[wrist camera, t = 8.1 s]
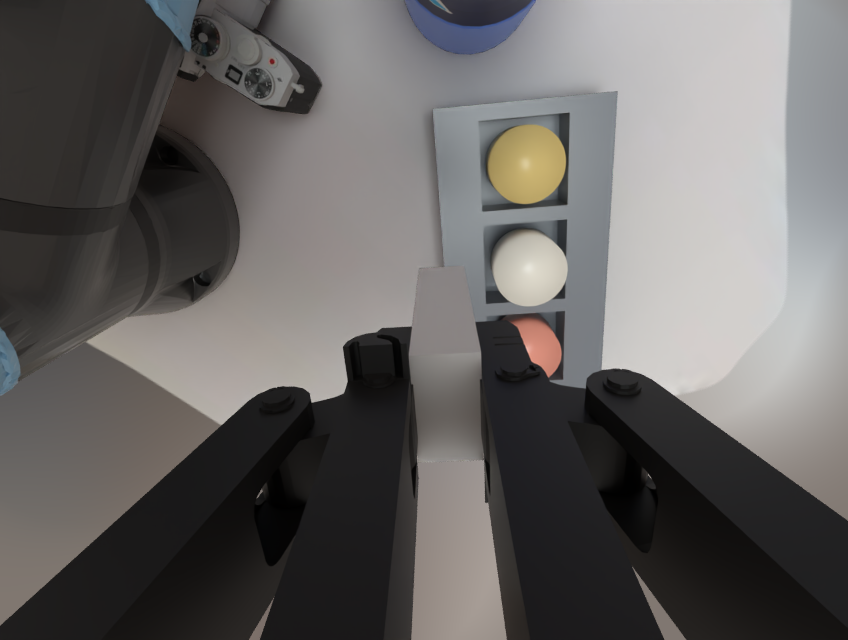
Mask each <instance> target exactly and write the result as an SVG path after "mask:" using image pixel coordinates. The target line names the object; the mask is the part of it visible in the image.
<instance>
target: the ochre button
mask: <svg viewBox="0 0 848 640" xmlns="http://www.w3.org/2000/svg"><path fill="white" fill-rule="evenodd" d="M565 168H566V155H565V150H564V147H563V145H562V143H561V141H560V140H559V138H558V137H557V136H556V135H555V134H554V133H553V132H552V131H550V130H549V129H547V128H545V127H543V126H539V125H533V124H532V125H519V126H514V127H511V128H508V129H506V130H505V131H503V132H502V133H500V134H499V135H498V136H497V137H496V138H495V139H494V141H493V142H492V143H491V145H490V147H489V149H488V152H487V156H486V173H487V176H488V179H489V181H490V183H491V184H492V185H493V187H494V188H495V189H496V190H497V191H498V192H499V193H500V194H501V195H502V196H503V197H504V198H506V199H508V200H509V201H512V202H514V203H519V204H531V203H535V202H538V201H541V200H543V199H544V198H546V197H548V196H549V195H550V194H551V193H552V192H553V191H554V190H555V189H556V188H557V187H558V185H559V184H560V182H561V180H562V178H563V175H564V172H565Z"/></svg>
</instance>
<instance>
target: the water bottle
mask: <svg viewBox="0 0 848 640" xmlns="http://www.w3.org/2000/svg"><path fill="white" fill-rule="evenodd" d="M535 1H536V0H405V2H406V5H407V8H408V11H409V14H410V16H411V18H412V20H413V21H414V23H415V25H416V27H417V28H418V29H419V30H420V32H421V33H422V34H423V35H424V36H425V37H426V38H427V39H428V40H429V41H431V42H432V43H433V44H434V45H436V46H438V47H440V48H442V49H444V50H445V51H449V52H453V53H456V54H475V53H480V52H484V51H486V50H489V49H491V48H493V47H496V46H497V45H498V44H500V43H501V42H503V41H504V40H506V39H507V38H508V37H509V36H510V35H511V34H512V33H513V32H514V31H515V30H516V28H517V27H518V26H519V24H520V23H521V21H522V20H523V19H524V17H525V16H526V14H527V13H528V12H529V10H530V9H531V7H532V6H533V4H534V3H535Z"/></svg>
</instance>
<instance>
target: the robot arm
mask: <svg viewBox="0 0 848 640" xmlns="http://www.w3.org/2000/svg"><path fill="white" fill-rule="evenodd" d="M198 3H199V0H0V395H3V394H4V393H6V392H7V391H9V390H11V389H13V388H14V387H13V386H14V385H16V384H17V382H18V381H20V380H22V379H23V378H25V377H27V376H28V375H30V374H31V373H33V372H35V371H37V370H38V369H40V368H42V367H44V366H45V365H47V364H48V363H50V362H52V361H54V360H55V359H57V358H58V357H60V356H62V355H64V354H65V353H67V352H69V351H71V350H72V349H74V348H76V347H77V346H79V345H80V344H82V343H84V342H86V341H87V340H89V339H91V338H93V337H94V336H96V335H98V334H99V333H101V332H103V331H104V330H106V329H108V328H109V327H111V326H113V325H114V324H116V323H118V322H120V321H121V320H123V319H124V318H126V317H131V316H141V315H152V314H162V313H169V312H173V311H177V310H180V309H183V308H186V307H188V306H190V305H192V304H194V303H196V302H198V301H199V300H200V299H202V298H203V297H205V296H206V295H208V294H209V293H211V292H212V291H213V290H215V289H216V288H217V287H218V286H219V285H220V284H221V283H222V282H223V280H224V279H225V278H226V276H227V275H228V273H229V272H230V270H231V268H232V266H233V264H234V261H235V258H236V254H237V250H238V245H239V222H238V215H237V211H236V207H235V203H234V201H233V198H232V195H231V193H230V190H229V188H228V186H227V184H226V182H225V181H224V179H223V177H222V176H221V174H220V173H219V171H218V170H217V168H216V167H215V166H214V164H213V163H212V162H211V161H210V160H209V159H208V157H207V156H206V155H205V154H204V153H203V152H202V151H200V150H199V149H198V148H197V147H196V146H195V145H194V144H192V143H191V142H190V141H188V140H187V139H185V138H184V137H182V136H181V135H179V134H177V133H176V132H174V131H172V130H170V129H168V128H165V127H163V126H160V125H159V122H160V120H161V117H162V114H163V111H164V109H165V106H166V103H167V100H168V98H169V95H170V92H171V89H172V86H173V84H174V81H175V78H176V75H177V73H178V70H179V67H180V64H181V62H182V59H183V56H184V53H185V51H186V52H189V51H190V49H191V43H192V42H191V38H190V32H191V28H192V24H193V20H194V16H195V13H196V9H197V6H198ZM343 351H344V358H345V365H346V371H347V378H348V383H347V386H346V389H345V392H344V394H342V395H340V396H337V397H334V398H331V399H327V400H323V401H318V402H314V403H311V398H310V394H309V392H307V391H306V390H305V389H303V388H298V387H285V386H282V387H277V388H276V387H275V388H272V389H269V390H267V391H265V392H263V393H260V394H258V395H256V396H255V397H254V398H252V399H251V400H249V401H248V402H247V403H246V404H245V405H244V406H242V407H241V408H240V409H239V410H238V411H237V412H236V413H235V414H234V415H232V416H231V417H230V418H229V419H228V420H227V421H226V422H225V423H224V424H223V425H221V426H220V427H219V428H218V429H217V430H216V431H215V432H214V433H213V434H212V435H210V436H209V437H208V438H207V439H206V440H205V441H204V442H203V443H202V444H200V445H199V446H198V447H197V448H196V449H195V450H194V451H193V452H192V453H191V454H189V455H188V456H187V457H186V458H185V459H184V460H183V461H182V462H181V463H179V464H178V465H177V466H176V467H175V468H174V469H173V470H172V471H171V472H170V473H169V474H167V475H166V476H165V477H164V478H163V479H162V480H161V481H160V482H159V483H157V484H156V485H155V486H154V487H153V488H152V489H151V490H150V491H149V492H147V494H145V495H144V496H143V497H142V498H141V499H140V500H139V501H137V503H135V504H134V505H133V506H132V507H131V508H130V509H129V510H128V511H127V512H125V513H124V514H123V515H122V516H121V517H120V518H119V519H118V520H117V521H115V522H114V523H113V524H112V525H111V526H110V527H109V528H108V529H107V530H105V531H104V532H103V533H102V534H101V535H100V536H99V537H98V538H97V539H96V540H94V542H92V543H91V544H90V545H89V546H88V547H87V548H86V549H85V550H83V551H82V552H81V553H80V554H79V555H78V556H77V557H76V558H75V559H73V560H72V561H71V562H70V563H69V564H68V565H67V566H66V567H65V568H63V569H62V570H61V571H60V572H59V573H58V574H57V575H56V576H55V577H54V578H52V579H51V580H50V581H49V582H48V583H47V584H46V585H45V586H44V587H43V588H42V589H40V590H39V591H38V592H37V593H36V594H35V595H34V596H33V597H32V598H30V599H29V600H28V601H27V602H26V603H25V604H24V605H23V606H22V607H20V608H19V609H18V610H17V611H16V612H15V613H14V614H13V615H12V616H11V617H9V618H8V619H7V620H6V621H5V622H4V623H3V624H2V625H1V626H0V640H249V638H250V636H251V635H252V633H253V631H254V630H255V628H256V626H257V625H258V623H259V621H260V620H261V618H262V616H263V615H264V613H265V611H266V610H267V608H268V606H269V605H270V603H271V601H272V600H273V598H274V600H273V603H272V606H271V609H270V612H269V615H268V617H267V621H266V623H265V626H264V629H263V632H262V635H261V638H260V640H411V632H412V631H411V630H412V610H413V588H414V565H415V542H416V522H417V500H418V479H419V478H418V466H417V456H418V462H419V463H420V462H446V461H471V460H484V471H485V502H486V503H488V504H489V511H490V518H491V526H492V533H493V540H494V548H495V555H496V563H497V570H498V577H499V584H500V591H501V599H502V606H503V614H504V621H505V629H506V636H507V640H664V638H663V636H662V633H661V631H660V629H659V627H658V625H657V622H656V620H655V618H654V615H653V613H652V611H651V609H650V606H649V604H648V602H647V600H646V597H645V595H644V593H643V591H642V588H641V586H640V584H639V581H638V579H637V577H636V575H635V572H634V570H633V568H634V569H635V571H636V572H637V573H638V575H639V576H640V577H641V579H642V580H643V581H644V583H645V584H646V585H647V587H648V588H649V590H650V591H651V592H652V594H653V595H654V596H655V598H656V599H657V600H658V602H659V603H660V604H661V606H662V607H663V608H664V610H665V611H666V613H667V614H668V615H669V617H670V618H671V619H672V621H673V622H674V623H675V624H676V626H677V627H678V629H679V630H680V631H681V633H682V634H683V636H684V637H685V638H686V640H848V521H847V520H846V519H845V518H843V517H842V516H840V515H839V514H838V513H836V512H835V511H834V510H832V509H831V508H829V507H828V506H827V505H825V504H824V503H822V502H821V501H820V500H818V499H817V498H815V497H814V496H813V495H811V494H810V493H809V492H807V491H806V490H804V489H803V488H802V487H800V486H799V485H797V484H796V483H795V482H793V481H792V480H790V479H789V478H788V477H786V476H785V475H784V474H782V473H781V472H779V471H778V470H777V469H775V468H774V467H772V466H771V465H770V464H768V463H767V462H766V461H764V460H763V459H761V458H760V457H759V456H757V455H756V454H754V453H753V452H751V451H750V450H749V449H747V448H746V447H745V446H743V445H742V444H741V443H739V442H738V441H736V440H735V439H734V438H732V437H731V436H729V435H728V434H727V433H725V432H724V431H722V430H721V429H720V428H718V427H717V426H715V425H714V424H713V423H711V422H710V421H708V420H707V419H706V418H704V417H703V416H701V415H700V414H699V413H697V412H696V411H695V410H693V409H692V408H691V407H689V406H688V405H686V404H685V403H683V402H682V401H681V400H679V399H678V398H677V397H675V396H674V395H672V394H671V393H670V392H668V391H667V390H666V389H664V388H663V387H661V386H660V385H659V384H657V383H656V382H654V381H653V380H652V379H650V378H648V377H646V376H644V375H642V374H639V373H635V372H632V371H630V370H626V369H622V370H621V369H609V370H601V371H598V372H595V373H592V374H591V375H590V376H589V377H588V378H587V381H586V388H578V387H570V386H564V385H559V384H556V383H553V382H550V381H549V378H548V376H547V374H546V372H545V371H544V369H543V368H542V367H541V366H539V365H537V364H535V363H533V362H532V361H531V359H530V357H529V354H528V352H527V349H526V347H525V344H524V342H523V339H522V337H521V335H520V332H519V330H518V327H517V326H515V325H514V324H512V323H510V322H509V321H507V320H501V321H483V322H475V319H474V314H473V309H472V304H471V299H470V294H469V289H468V285H467V280H466V275H465V270H464V266H450V267H433V268H419V273H418V282H417V290H416V298H415V307H414V315H413V323H412V327H396V328H382V329H380V330H379V331H378V332H376V333H368V334H364V335H361V336H357V337H355V338H353V339H351V340H349V341H347V343H346V344H345V345H344V346H343ZM648 474H649V475H650V476H651V478H652V479H651V478H650V477H649V476H648ZM261 489H262V490H263V492H262V493H261V494H260V496H259V497H258V498H257V496H258V494H259V492H260V490H261ZM256 498H257V499H256ZM631 565H632V566H631ZM632 567H633V568H632ZM274 596H275V597H274Z"/></svg>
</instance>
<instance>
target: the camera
mask: <svg viewBox="0 0 848 640" xmlns="http://www.w3.org/2000/svg"><path fill="white" fill-rule="evenodd" d="M270 1H271V0H199V3H198V6H197V9H196V13H195V16H194V20H193V24H192V28H191V32H190V38H191V42H192V43H191V49H190V51H189V52H186V51H185V53H184V56H183V59H182V62H181V64H180V67H179V70H178V73H177V76H179V77H182V78H184V79H187V80H190V81H193V82H194V81H196V80H197V79H198V78H199V77H201V76H202V75H203V74H204V72H205V71H206V72H208V73H210V74H211V77H213V78H214V79H216V80H217V81H219V82H221V83H224V84H226V85H228V86H230V87H231V88H233V89H234V90H236V91H238V92H239V93H241V94H242V95H244V96H245V97H247V98H248V99H250V100H252V101H253V102H255V103H257V104H258V105H260V106H261V107H263V108H267V109H271V110H276V111H283V112H291V113H298V114H308V113H309V111H310V109H311V107H312V105H313V103H314V101H315V99H316V97H317V95H318V93H319V91H320V89H321V87H322V82H321V80H320V78H319V77H318V76H317V74H316V73H315V72H314V70H313V69H312V68H311V67H310V66H308V65H307V64H305V63H304V62H302V61H301V60H300V59H298V58H297V57H295V56H294V55H292V54H291V53H289V52H288V51H287V50H285V49H284V48H282V47H281V46H279V45H278V44H276V43H275V42H274V41H272V40H271V39H269V38H268V37H266V36H265V35H263V34H262V33H260V32H259V31H257V30H256V29H255V28H257V27H258V24H259V22H260V20H261V17H262V15H263V13H264V10H265V8H266V6H267V5H269V3H270Z"/></svg>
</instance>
